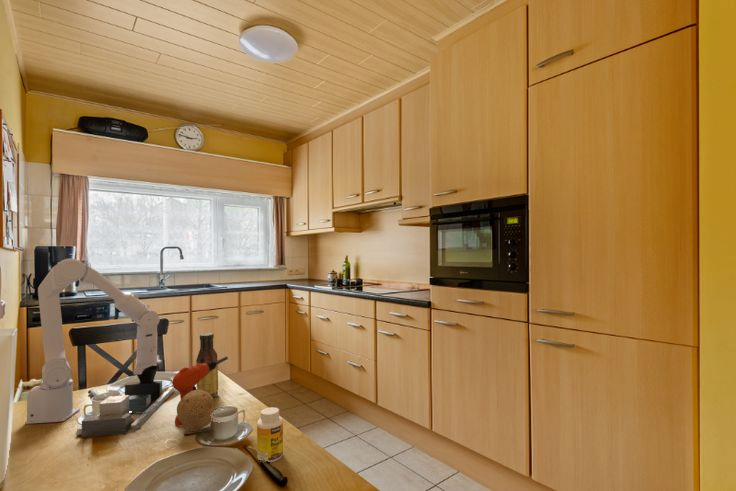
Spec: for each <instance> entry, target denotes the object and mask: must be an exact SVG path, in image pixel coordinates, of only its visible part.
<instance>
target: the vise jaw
mask: <svg viewBox="0 0 736 491" xmlns="http://www.w3.org/2000/svg"><path fill="white" fill-rule="evenodd" d="M124 393H125V395H129V411H132V414H143V413H144V412H145V411H146V410H147V409H148V408H149V407H150V406H151V405H152V403H151V402H152V400H154V401H156V400H157V399H158V398H159V397H160V396H161V395H162V394H163V380H155V381H150V382H140V381H135V382H127V383H125V384H124ZM132 414H131V415H132Z"/></svg>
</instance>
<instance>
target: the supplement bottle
mask: <svg viewBox="0 0 736 491" xmlns="http://www.w3.org/2000/svg"><path fill="white" fill-rule="evenodd" d="M283 442H284V419H283V417H282V416H280V409H279V408H278V407H266V408H264V409H262V410H261V411H260V418H259V419H258V420H257V423H256V459H257V460H258V461H259V460H265V461H268V462H270V463H269V464H271V463H275V462H276V461H278V460H280V459H281V458H282V457H283V454H284V443H283Z"/></svg>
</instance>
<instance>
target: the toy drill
mask: <svg viewBox="0 0 736 491" xmlns="http://www.w3.org/2000/svg"><path fill="white" fill-rule="evenodd" d="M228 359H229V357H228V356H225V357H223V358H220V359H217V361H210V362H207V363H203V364H196V363H195V365H194V366H193V365H191V366H188V367H182V368H181V369H180V370H179V371H178V372H177V373H176V374H175V375H174V376H173V378H172V381H171V383H172V387H174V389H175V390H177V391H178V392H179V397H180V400H181V399H182V398H183V397H184V396H185V395H186V394H188V393H189V392H191V391H194V390H197V383H198V382H199V381H200V380H202V379H203V378H204V377H205V376H206V375H207V374H209V372H210V371H212V370H213V369H215V368H216V366H217V364H218V365H220V364H221V363H223V362H225V361H227V360H228ZM174 425H175V426H177V427H181V426H182V427H184V426H183V424H182V423H181V421H180V420H179V418H178V415H176V416H175V419H174Z"/></svg>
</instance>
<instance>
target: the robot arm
mask: <svg viewBox="0 0 736 491" xmlns="http://www.w3.org/2000/svg"><path fill="white" fill-rule="evenodd" d="M77 281H80V282H82V283H84V284H85V283H86V284H91V285H93V286H95V287H96V288H97V289H98V290H100V291H101V292H103V293H104V294H106V295H107V296H108V297H109V298H111V299H112V300H113V301H114V308H116V309H117V310H118V311H120V312H121V313H122V314H123V315H125V316H126V317H128V318H129V319H130V320H133V321H134V322H135V324H136V325H137V326H136V329H137V330H136V331H137V332H136V362H135V367H133V376H134V375H135V376H136V377H137V378H138V380H139V382H150V381H154V380H155V377H156V375H157V372H158V370H159V368H160V366H159V365H160V364H161V363H162V359H160V355H159V354H158V325H159V323H160V321H161V318H159V315H158V313H157V312H156V311H154V310H152V309H151V306H150V305H149V303H148V304H146V303H144V302H143V301H141V300H140V299H139V296H138V294H136V293H132V292H123V291H122V290H120V288H118V287H117V286H116V285H114V284H113V283H112V282H111V281H110V280H109V279H108V278H106V277H105V276H104V275H103V274H101V273H100V272H99V271H97V270H96V269H94V268H93V267H91V266H89V265H87V264H84V263H83V262H82V261H81V260H79V259H76V258H65V259H63V260H61V261H59V262H58V263H57V264H55V265H54V266H52V268H51V269H50V271H49V272H48V273H47V275H46V276H45V277H44V279H43V280H42V281H41V283H40V284H39V286H38V287H37V296H38V297H37V298H38V305H39V315H40V324H41V334H42V343H43V353H44V363H43V365H42V368H41V374H42V376H41V381H42V383H40V384H39V385H36V386H34V387H32V388H31V389H30V391H28V394H27V397H26V421H25V422H24V424H25V425H29V424H30V425H31V424H32V425H33V424H43V423H46V424H47V423H56V422H57V423H58V422H59V423H60V422H64V421H66V420H67V419H69V418H70V417H72V416H73V415H74V414H76V413H78V412H79V411H80V410H81V408H80V407H79V408H76V407H75V408H73V407H74V405H73V404H74V400H73V399H74V398H73V396H74V395H73V394H74V392H73V391H74V385H73V384H74V380H73V379H72V373H73V372H72V368H71V364H70V361H68V359H67V357H66V348H65V339H64V331H63V330H64V328H63V318H62V309H61V300H60V293H62V292H63V291H64V290H65V289H67V287H69V286H70V285H71V284H73V283H75V282H77ZM158 364H159V365H158Z"/></svg>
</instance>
